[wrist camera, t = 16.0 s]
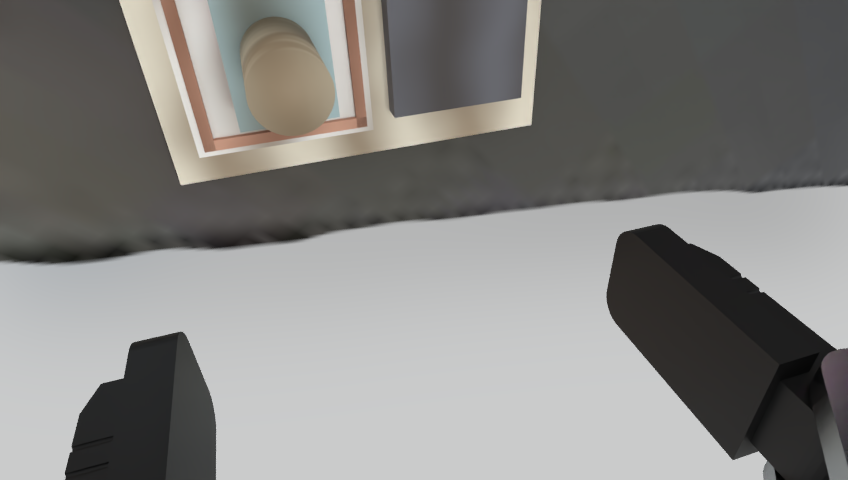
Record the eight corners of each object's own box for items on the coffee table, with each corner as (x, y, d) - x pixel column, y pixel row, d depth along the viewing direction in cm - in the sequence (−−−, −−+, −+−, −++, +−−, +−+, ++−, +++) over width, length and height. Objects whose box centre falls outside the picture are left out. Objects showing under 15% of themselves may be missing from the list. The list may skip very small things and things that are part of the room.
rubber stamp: (309, -43, 27) (343, -9, 20) (328, 94, 31) (363, 164, 24) (202, -34, 26) (199, 6, 19) (237, 108, 30) (246, 185, 23)
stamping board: (544, -154, 28) (566, -155, 27) (524, 119, 37) (539, 132, 35) (79, -133, 23) (68, -132, 22) (181, 177, 32) (179, 195, 30)
